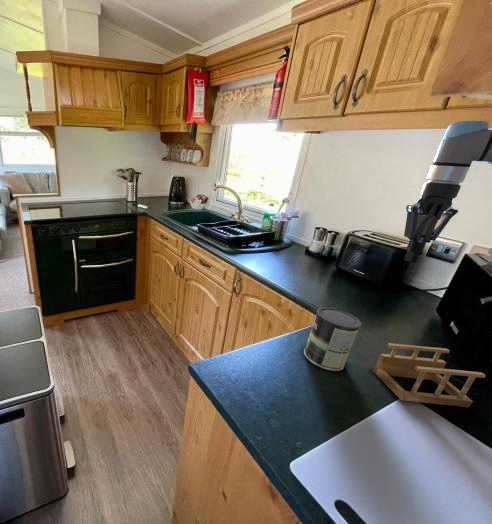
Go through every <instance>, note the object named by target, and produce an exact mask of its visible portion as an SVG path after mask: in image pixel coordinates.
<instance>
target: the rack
mask: <svg viewBox="0 0 492 524" xmlns="http://www.w3.org/2000/svg"><path fill="white" fill-rule="evenodd" d="M386 346H387V347H388V348H390V349H392V350H391V352H390V354H387V353H380V355H379V357H378V358H377V361H376V363H375V366H374V368H373V370H372V372H373V373H374V374H375V375H376V376H377V378H379V379H380V381H382V382H383V384H384V385H386V387H387V388H388V389H390V391H392V393H393V394H394V395H395V396H396V397H397V398H398V399H399V400H400V401H404V402H405V401H406V402H416V403H425V404H435V405H443V406H453V407H462V408H470V407H471V406H472V403H473V400H472V399H471V398H470V397H469V396H467V393H468V391H469V389H470V388H471V386H472V385H473V383H474V382H475V379H476V378H480V379H481V378H482V379H485V378H486V374H485V373H483V372H481V371H480V372H479V371H472V370H471V371H469V370H462V369H461V370H460V369H451V368H445V366H446V365H447V362H446V361H445V360H444V359H439V358H440V357H441V354H450V352H451V350H449V349H448V348H445V347H444V348H442V347H433V346H424V345H423V346H422V345H412V344H403V343H402V344H401V343H392V342H388V343H387V344H386ZM398 349H399V350H408V351H409V350H411V351H413V353H412V355H411V356H408V355H399V354H397V352H398ZM420 352H430V353H435V354H434V355H433V358H429V357H419V356H418V355H419V353H420ZM442 375H443V376H442ZM451 376H461V377H468V378H467V380H466V381H465V383H464V385H463V386H462V388H461V390H460V389H458V387H456V386H454V385H453V384H452V383H451V382H450V381H449V380H450V378H451ZM393 377H396V378H397V377H398V378H407V379H416V380H415V383H414V384H413V386H412V388H411V390H405V389H404V388H403V387H402V386H401V385H400V384H399V383H398V382H397V381H396V380H395V379H394V378H393ZM424 380H426V381H427V380H428V381H432V382H434V383H435V385H438V386H437V388H436V389H435V391H434V393H430V392H420V391H418V390H419V388H420V386H421V384H422V382H423V381H424ZM443 391H444V392H446V394H442V392H443Z"/></svg>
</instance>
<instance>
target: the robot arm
mask: <svg viewBox="0 0 492 524" xmlns="http://www.w3.org/2000/svg"><path fill="white" fill-rule="evenodd" d="M489 126H490V122H488V121H486V120H460V121H459V120H458V121H454V122H452V123H451V124H449V125H448V126H447V128H446V130H445V132H444V135H443V136H442V139H441V141H440V143H439V146H438V148H437V151H436V154H435V156H434V159H433V161H432V164H431V166H430V168H429V172H428V173H427V176H426V180H427V181H425V182H424V183H423V185H422V188H421V190H420V193H419V194H420V198H419V199H417V201H416V203H413V204H407V205H406V206H405V211H406V220H405V226H404V233H403V236H404V237H405V238H407V239H408V240H409V241H408V243H407V246H406V252H405V255H404V258H403V260H404V261H406V262H408V263H412V264H416V263H417V261H418V259H419V256H420V254H421V253H422V252H423V251H424V249H425V247H426V244H430V243H431V242H432V241H433V242H434V241H436V240H437V239H438V237H439V236H440V235H441V234H442V232H443V231H444V229H445V227H446V226H447V225H448V224H449V222H450V221H451V219H452V218H453V217H454V216H455V215H457V214H458V213H459V209H456V208H454V207H453V206H452V205H453V199H455V198H457V197H458V194H459V192H460V190H461V188H462V186H461V184H462V183H464V181H465V180H466V177H467V174H468V172H469V169H470V168H471V167H472V162H486V163H488V164H490V165H492V129H489Z"/></svg>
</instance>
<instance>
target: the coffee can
mask: <svg viewBox="0 0 492 524" xmlns="http://www.w3.org/2000/svg"><path fill="white" fill-rule="evenodd" d="M361 327H362V322H361V320H360V319H359V318H358V317H357V316H354V315H353V314H351V313H349V312H347V311H345V310H342V309H340V308H339V309H338V308H334V307H329V306H328V307H319V308H317V310H316V313H315V317H314V321H313V323H312V326H311V330H310V333H309V334H308V335H309V336H308V339H307V342H306V344H305V347H304V350H303V356H304V357H305V358H306V359H307V360H308V361H309V362H310V363H311V364H313V365H315V366H317V367H318V368H321V369H324V370H326V371H332V372H339V371H342V370H344V368H345V366H346V362H347V360H348V358H349V355H350V352H351V349H352V347H353V345H354V342H355V340H356V337H357V335H358V332H359V330H360V328H361Z"/></svg>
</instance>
